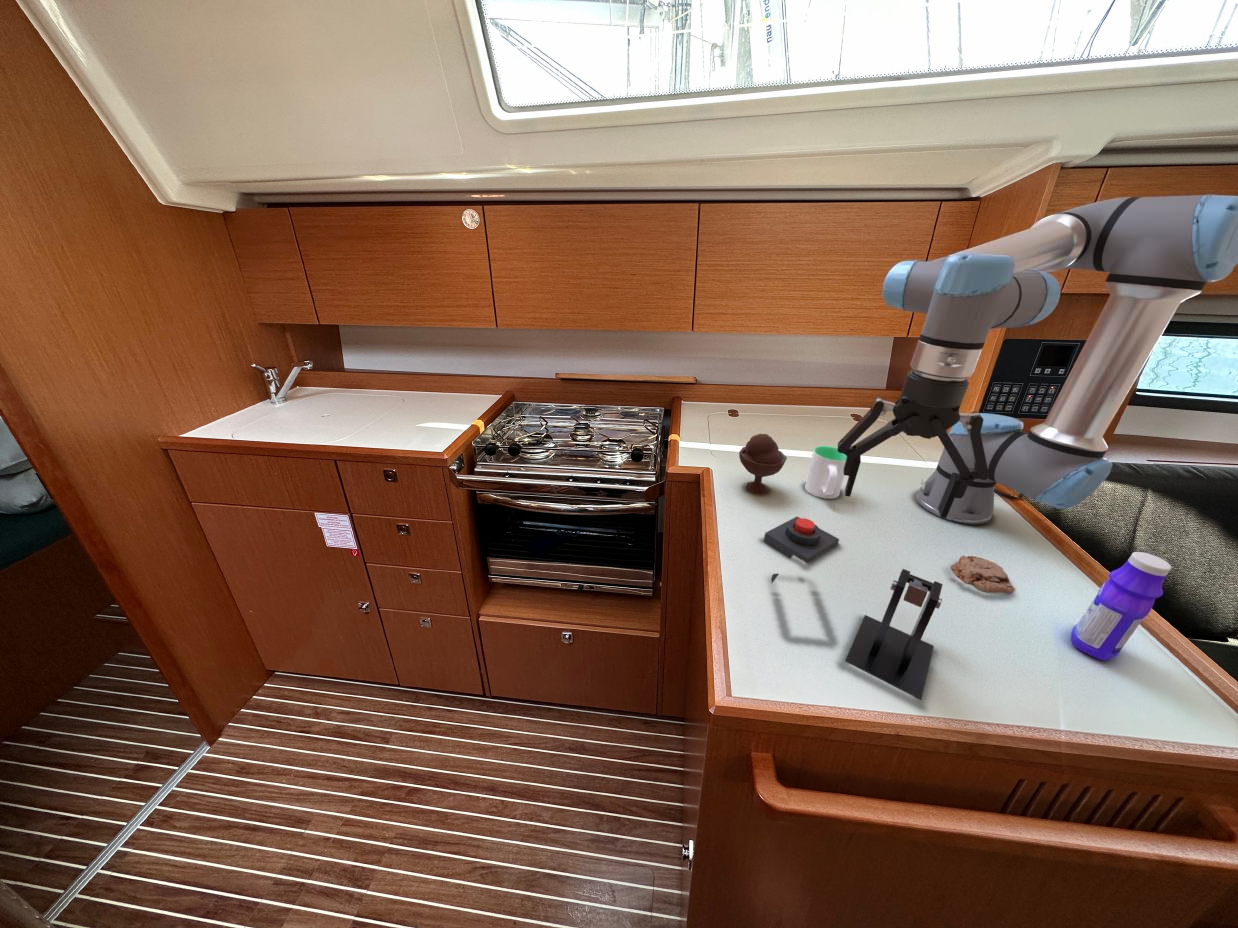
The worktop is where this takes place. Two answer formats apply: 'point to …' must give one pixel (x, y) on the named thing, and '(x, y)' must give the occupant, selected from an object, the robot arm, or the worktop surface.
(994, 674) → the worktop surface
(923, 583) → the switch lever
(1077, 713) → the worktop surface
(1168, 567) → the bottle
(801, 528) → the stop button
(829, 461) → the mug
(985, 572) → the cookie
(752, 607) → the worktop surface
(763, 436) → the ice cream bowl
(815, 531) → the dark grey base plate
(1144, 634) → the worktop surface
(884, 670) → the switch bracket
